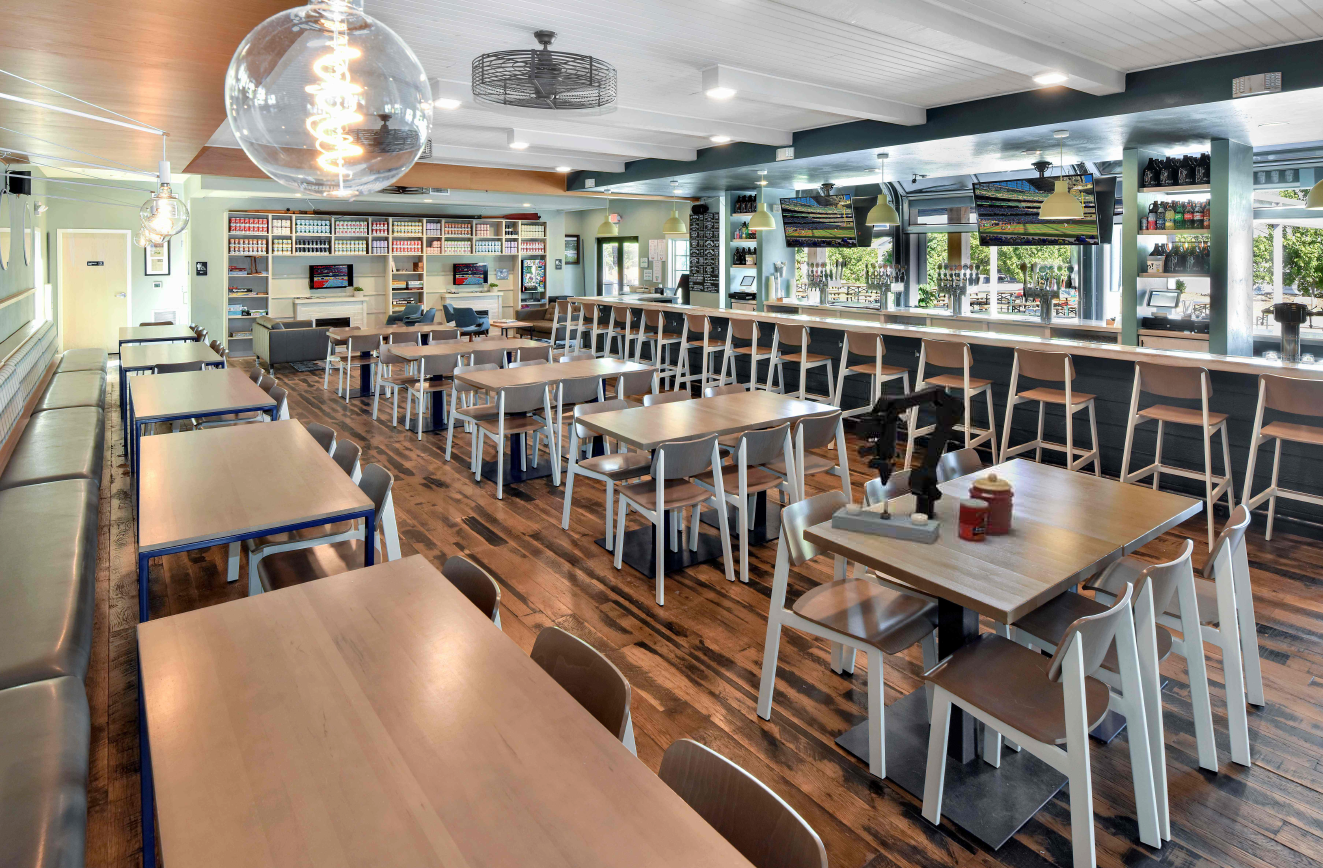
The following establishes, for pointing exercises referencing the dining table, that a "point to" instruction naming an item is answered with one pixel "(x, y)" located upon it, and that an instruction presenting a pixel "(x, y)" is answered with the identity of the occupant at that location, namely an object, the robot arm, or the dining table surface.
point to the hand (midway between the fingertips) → (883, 485)
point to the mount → (886, 526)
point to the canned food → (973, 519)
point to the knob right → (919, 519)
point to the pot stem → (885, 512)
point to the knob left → (853, 509)
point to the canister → (995, 502)
